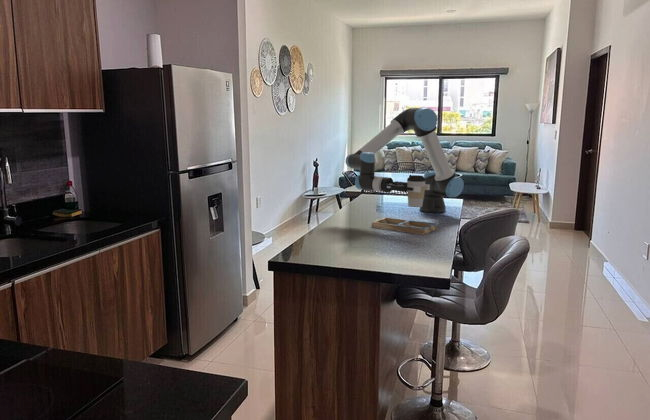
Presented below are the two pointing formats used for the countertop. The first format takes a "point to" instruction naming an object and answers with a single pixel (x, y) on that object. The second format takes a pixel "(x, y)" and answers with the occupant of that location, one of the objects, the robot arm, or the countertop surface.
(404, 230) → the oak rack
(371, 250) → the countertop surface
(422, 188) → the coffee cup
